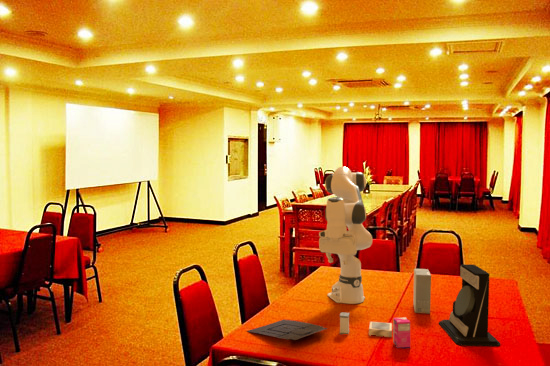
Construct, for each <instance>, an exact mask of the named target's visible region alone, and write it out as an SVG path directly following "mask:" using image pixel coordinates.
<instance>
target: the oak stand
mask: <svg viewBox="0 0 550 366" xmlns="http://www.w3.org/2000/svg"><path fill="white" fill-rule="evenodd" d="M371 335H376V336H375V337H383V336H384V337H385V338H393V323H392V322H381V321H369V327H368V336H371ZM384 337H383V338H384Z"/></svg>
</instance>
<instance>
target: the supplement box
mask: <svg viewBox="0 0 550 366" xmlns="http://www.w3.org/2000/svg"><path fill="white" fill-rule="evenodd" d="M392 322H393V323H392V338H393V339H392V340H393V342H392V343H394V344H395V345H396V346H395V345H394V346H395V347H396V348H397V349H398V348H402V349H411V321H410V320H409V319H407V317H406V316H404V317H393V321H392Z"/></svg>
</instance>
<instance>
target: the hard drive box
mask: <svg viewBox="0 0 550 366" xmlns="http://www.w3.org/2000/svg"><path fill="white" fill-rule="evenodd" d="M431 289H432V275H431V272H430V271H429V269H428V268H427V269H426V268H414V269H413V297H412V298H413V300H412V301H413V302H412V304H413V309H414V313H417V314H431V300H432V299H431V298H432V297H431V294H432V293H431V292H432V291H431Z"/></svg>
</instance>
